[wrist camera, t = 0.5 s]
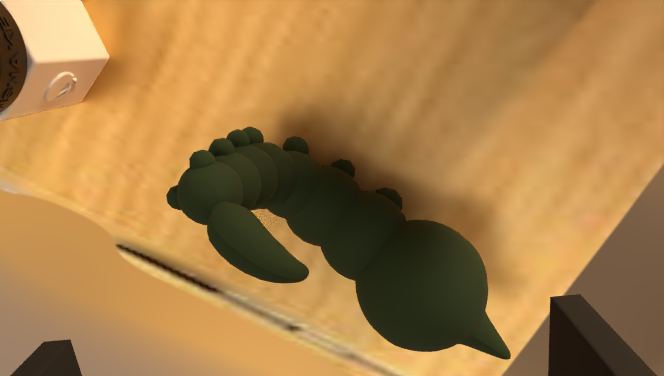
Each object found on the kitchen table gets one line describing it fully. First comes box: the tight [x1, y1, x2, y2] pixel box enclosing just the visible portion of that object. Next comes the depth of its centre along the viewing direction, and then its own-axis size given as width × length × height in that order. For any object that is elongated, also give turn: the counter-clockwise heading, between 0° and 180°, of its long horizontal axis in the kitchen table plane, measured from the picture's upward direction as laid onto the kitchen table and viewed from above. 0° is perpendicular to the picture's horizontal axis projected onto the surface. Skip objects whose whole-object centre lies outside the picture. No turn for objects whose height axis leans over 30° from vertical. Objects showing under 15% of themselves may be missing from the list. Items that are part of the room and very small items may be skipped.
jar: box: [0, 0, 109, 121], centre depth 31 cm, size 9×8×12 cm
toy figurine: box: [166, 127, 511, 359], centre depth 32 cm, size 9×19×25 cm
